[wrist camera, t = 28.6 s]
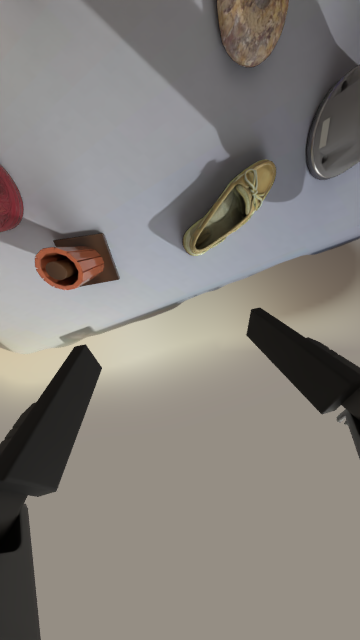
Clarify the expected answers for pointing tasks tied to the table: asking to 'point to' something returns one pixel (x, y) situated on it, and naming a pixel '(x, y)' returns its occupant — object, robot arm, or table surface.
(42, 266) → the faceted orange sleeve
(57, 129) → the table surface
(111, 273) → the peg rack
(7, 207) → the kitchen canister
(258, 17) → the fossil
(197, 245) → the boat shoe
